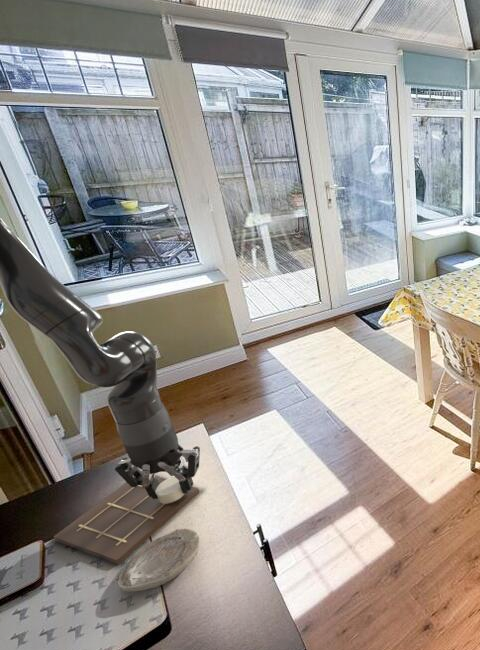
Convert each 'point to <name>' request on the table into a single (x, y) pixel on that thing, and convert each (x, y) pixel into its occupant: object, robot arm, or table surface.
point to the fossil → (159, 560)
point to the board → (121, 522)
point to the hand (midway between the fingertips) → (172, 492)
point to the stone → (169, 490)
